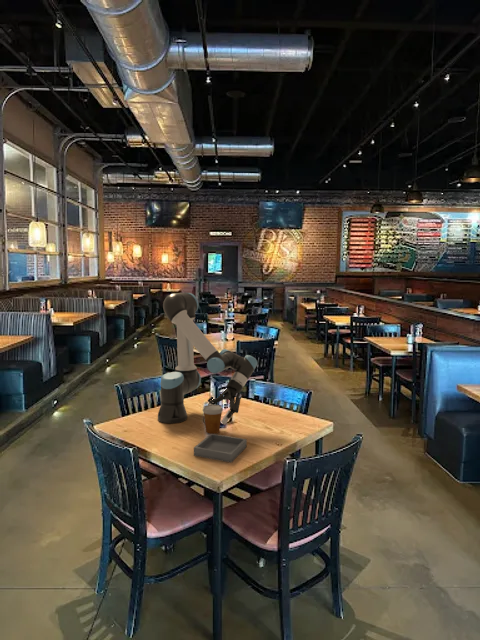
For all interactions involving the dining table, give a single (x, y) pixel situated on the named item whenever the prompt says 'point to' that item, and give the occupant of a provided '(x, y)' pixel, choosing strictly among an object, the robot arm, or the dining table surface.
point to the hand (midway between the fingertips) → (213, 419)
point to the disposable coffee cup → (212, 418)
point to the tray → (220, 447)
